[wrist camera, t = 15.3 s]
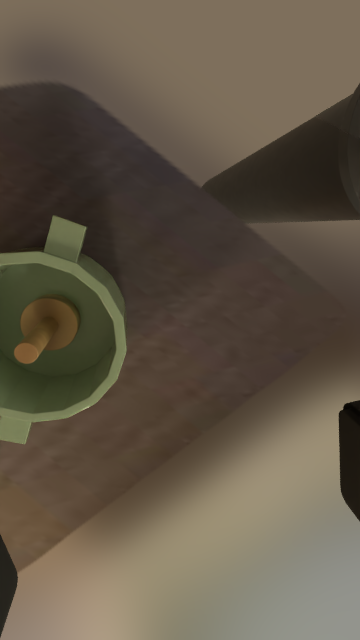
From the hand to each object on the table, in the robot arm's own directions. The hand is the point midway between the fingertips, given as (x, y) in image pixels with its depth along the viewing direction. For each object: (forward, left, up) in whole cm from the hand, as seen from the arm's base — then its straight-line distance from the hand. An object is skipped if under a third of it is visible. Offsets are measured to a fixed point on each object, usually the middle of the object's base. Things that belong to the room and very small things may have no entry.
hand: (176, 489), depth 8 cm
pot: (+7, +5, -25) cm, 27 cm away
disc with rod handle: (+7, +5, -25) cm, 26 cm away
